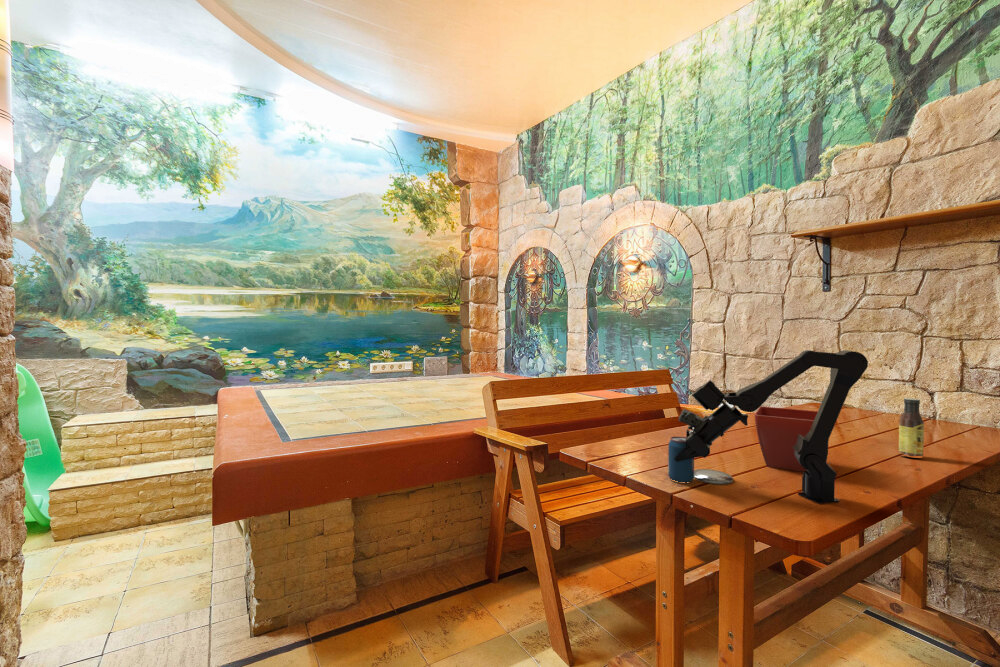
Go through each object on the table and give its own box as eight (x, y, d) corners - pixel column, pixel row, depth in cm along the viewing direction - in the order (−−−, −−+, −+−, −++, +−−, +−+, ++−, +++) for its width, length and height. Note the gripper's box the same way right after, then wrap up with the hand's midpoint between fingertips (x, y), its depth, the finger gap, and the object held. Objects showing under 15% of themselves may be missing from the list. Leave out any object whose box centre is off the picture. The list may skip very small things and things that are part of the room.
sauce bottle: (922, 461, 148) (923, 401, 147) (897, 456, 153) (898, 398, 152) (924, 457, 152) (925, 399, 152) (900, 453, 157) (901, 396, 156)
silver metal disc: (741, 483, 126) (741, 480, 126) (707, 485, 124) (707, 482, 124) (715, 470, 137) (715, 467, 137) (683, 473, 135) (683, 470, 135)
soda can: (699, 483, 126) (699, 441, 126) (676, 485, 125) (676, 442, 125) (685, 475, 133) (685, 435, 133) (663, 476, 132) (663, 436, 132)
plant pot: (759, 453, 156) (760, 405, 156) (826, 463, 145) (827, 411, 145) (753, 467, 141) (753, 414, 140) (828, 479, 130) (829, 422, 129)
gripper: (696, 396, 135) (657, 428, 140) (696, 406, 118) (652, 443, 123) (725, 424, 132) (684, 456, 137) (729, 438, 115) (683, 475, 120)
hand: (675, 456), depth 129 cm, fingers closed on soda can, 7 cm apart
